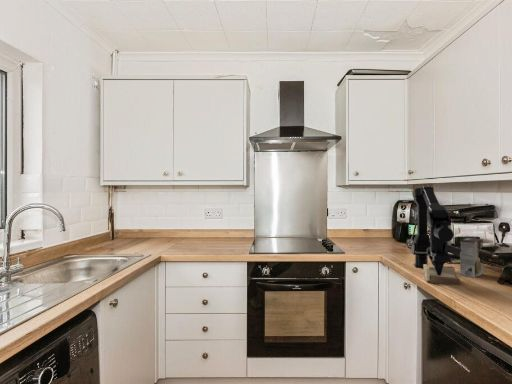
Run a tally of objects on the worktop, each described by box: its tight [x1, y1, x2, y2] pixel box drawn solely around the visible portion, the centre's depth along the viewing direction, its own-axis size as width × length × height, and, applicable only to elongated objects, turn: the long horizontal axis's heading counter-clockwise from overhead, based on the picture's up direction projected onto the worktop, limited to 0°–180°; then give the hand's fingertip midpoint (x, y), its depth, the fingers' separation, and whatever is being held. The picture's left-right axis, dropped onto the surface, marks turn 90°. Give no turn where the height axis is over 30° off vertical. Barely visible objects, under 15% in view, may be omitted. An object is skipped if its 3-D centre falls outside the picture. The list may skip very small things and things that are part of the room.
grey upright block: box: [459, 237, 484, 279], centre depth 155 cm, size 9×6×16 cm
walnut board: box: [429, 274, 461, 286], centre depth 149 cm, size 16×11×2 cm
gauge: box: [423, 264, 456, 282], centre depth 146 cm, size 7×11×6 cm, turn 72°
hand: (438, 274), depth 146 cm, fingers closed on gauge, 3 cm apart
